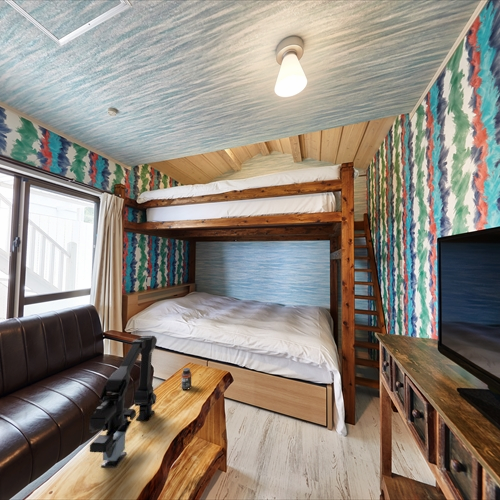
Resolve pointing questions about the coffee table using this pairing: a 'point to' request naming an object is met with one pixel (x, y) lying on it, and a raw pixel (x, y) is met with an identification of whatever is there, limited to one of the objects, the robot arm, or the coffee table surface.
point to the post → (113, 463)
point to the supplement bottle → (186, 378)
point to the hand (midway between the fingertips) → (114, 450)
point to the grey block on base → (117, 446)
